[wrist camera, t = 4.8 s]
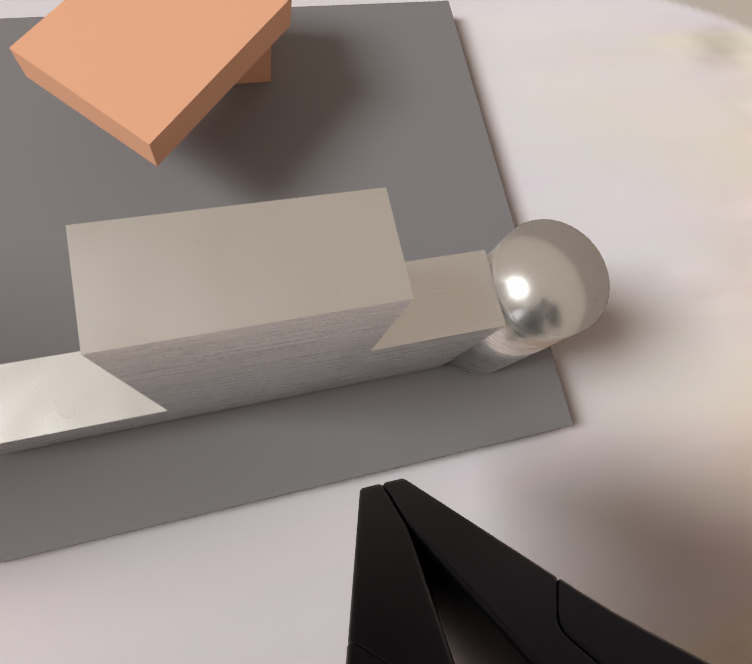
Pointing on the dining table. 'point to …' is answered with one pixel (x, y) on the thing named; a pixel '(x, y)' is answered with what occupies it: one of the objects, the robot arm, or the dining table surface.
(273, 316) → the link
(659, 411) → the dining table surface
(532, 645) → the robot arm
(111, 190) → the board
